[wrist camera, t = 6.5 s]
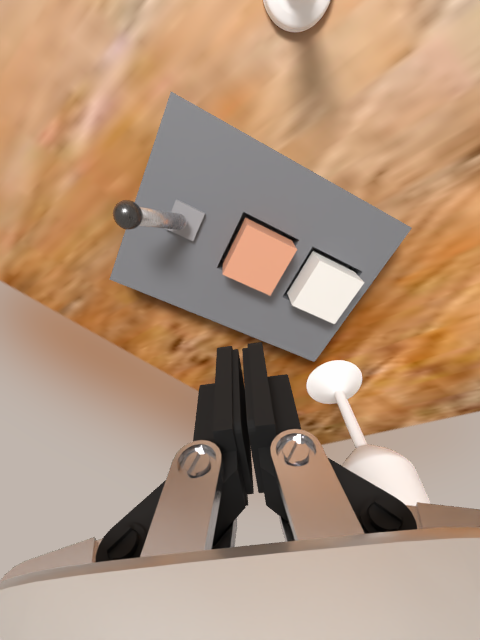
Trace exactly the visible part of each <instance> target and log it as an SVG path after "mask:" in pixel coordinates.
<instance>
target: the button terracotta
mask: <svg viewBox="0 0 480 640" xmlns="http://www.w3.org/2000/svg"><path fill="white" fill-rule="evenodd" d="M296 251H297V248H296V246H295V245H294V243H293V241H292V240H290V239H288V238H286V237H284V236H282V235H280V234H278V233H276V232H274V231H272V230H270V229H268V228H266V227H264V226H262V225H260V224H258V223H256V222H254V221H252V220H250V219H248V218H246V217H245V219H244V221H243V223H242V226H241V228H240V230H239V232H238V234H237V236H236V238H235V240H234V242H233V244H232V246H231V248H230V250H229V252H228V254H227V256H226V258H225V260H224V262H223V274H222V275H225V276H227V277H229V278H231V279H234V280H236V281H238V282H240V283H243V284H245V285H247V286H249V287H252V288H254V289H256V290H258V291H261V292H263V293H265V294H267V295H271V294H272V292H273V290H274V289H275V287H276V285H277V283H278V282H279V280H280V278H281V277H282V275H283V273H284V271H285V270H286V268H287V266H288V265H289V263H290V261H291V259H292V258H293V256H294V254H295V253H296Z"/></svg>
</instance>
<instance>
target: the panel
mask: <svg viewBox="0 0 480 640" xmlns="http://www.w3.org/2000/svg"><path fill="white" fill-rule="evenodd" d="M135 203H136V204H137V205H138V206H139V207H142V208H148V209H154V210H161V211H167V212H173V213H179V214H182V215H184V216H185V218H186V220H187V225H186V227H185V228H184V229H182V230H174V229H165V228H155V227H145V226H138V227H137V228H135V229H131V230H128V229H126V231H125V234H124V237H123V240H122V243H121V246H120V249H119V252H118V255H117V258H116V261H115V264H114V268H113V271H112V274H111V277H110V280H113V281H115V282H118V283H120V284H123V285H125V286H127V287H130V288H132V289H135V290H137V291H140V292H142V293H145V294H147V295H150V296H152V297H155V298H157V299H160V300H162V301H165V302H167V303H170V304H172V305H175V306H177V307H180V308H182V309H185V310H187V311H189V312H192V313H194V314H197V315H199V316H202V317H204V318H207V319H209V320H212V321H214V322H217V323H219V324H222V325H224V326H227V327H229V328H232V329H234V330H237V331H239V332H242V333H244V334H247V335H249V336H251V337H254V338H256V339H259V340H261V341H264V342H266V343H269V344H271V345H274V346H276V347H279V348H281V349H284V350H286V351H289V352H291V353H294V354H296V355H299V356H301V357H304V358H306V359H309V360H311V361H313V362H315V360H316V359H317V358H318V356H319V355H320V354H321V352H322V351H323V349H324V348H325V347H326V345H327V344H328V343H329V341H330V340H331V338H332V337H333V336H334V334H335V333H336V332H337V330H338V329H339V327H340V326H341V325H342V323H343V322H344V321H345V319H346V318H347V316H348V315H349V314H350V312H351V311H352V310H353V308H354V307H355V305H356V304H357V303H358V301H359V300H360V299H361V297H362V296H363V294H364V293H365V292H366V290H367V289H368V288H369V286H370V285H371V283H372V282H373V281H374V279H375V278H376V277H377V275H378V274H379V272H380V271H381V270H382V268H383V267H384V266H385V264H386V263H387V261H388V260H389V259H390V257H391V256H392V255H393V253H394V252H395V250H396V249H397V248H398V246H399V245H400V244H401V242H402V241H403V239H404V238H405V237H406V235H407V234H408V233H409V231H410V230H411V227H409V226H407V225H406V224H404V223H402V222H400V221H399V220H397V219H395V218H393V217H391V216H390V215H388V214H386V213H384V212H383V211H381V210H379V209H377V208H376V207H374V206H372V205H370V204H369V203H367V202H365V201H363V200H361V199H360V198H358V197H356V196H354V195H353V194H351V193H349V192H347V191H346V190H344V189H342V188H340V187H339V186H337V185H335V184H333V183H331V182H330V181H328V180H326V179H324V178H323V177H321V176H319V175H317V174H316V173H314V172H312V171H310V170H309V169H307V168H305V167H303V166H301V165H300V164H298V163H296V162H294V161H293V160H291V159H289V158H287V157H286V156H284V155H282V154H280V153H279V152H277V151H275V150H273V149H271V148H270V147H268V146H266V145H264V144H263V143H261V142H259V141H257V140H256V139H254V138H252V137H250V136H249V135H247V134H245V133H243V132H241V131H240V130H238V129H236V128H234V127H233V126H231V125H229V124H227V123H226V122H224V121H222V120H220V119H219V118H217V117H215V116H213V115H211V114H210V113H208V112H206V111H204V110H203V109H201V108H199V107H197V106H196V105H194V104H192V103H190V102H189V101H187V100H185V99H183V98H181V97H180V96H178V95H176V94H174V93H173V92H171V93H170V96H169V99H168V102H167V106H166V109H165V112H164V115H163V118H162V121H161V124H160V127H159V130H158V133H157V136H156V139H155V142H154V145H153V148H152V151H151V154H150V158H149V161H148V164H147V167H146V170H145V173H144V176H143V179H142V182H141V185H140V188H139V191H138V194H137V197H136V200H135ZM245 217H246V218H248V219H250V220H252V221H254V222H256V223H258V224H260V225H262V226H264V227H266V228H268V229H270V230H272V231H274V232H276V233H278V234H280V235H282V236H284V237H286V238H288V239H290V240H292V241H293V243H294V245H295V246H296V248H297V251H296V253H295V254H294V256H293V258H292V259H291V261H290V263H289V265H288V266H287V268H286V270H285V271H284V273H283V275H282V277H281V278H280V280H279V282H278V283H277V285H276V287H275V289H274V290H273V292H272V294H271V295H267V294H265V293H263V292H261V291H258V290H256V289H254V288H252V287H249V286H247V285H245V284H243V283H240V282H238V281H236V280H234V279H231V278H229V277H227V276H225V275H222V274H223V262H224V260H225V258H226V256H227V254H228V252H229V250H230V248H231V246H232V244H233V242H234V240H235V238H236V236H237V234H238V232H239V230H240V228H241V226H242V223H243V221H244V219H245ZM312 251H314V252H316V253H318V254H320V255H322V256H324V257H326V258H328V259H330V260H332V261H334V262H336V263H338V264H340V265H342V266H344V267H346V268H348V269H350V270H352V271H354V272H355V273H356V274H357V275H358V276H359V277H360V278H361V279H362V280H363V282H364V284H363V285H362V287H361V288H360V290H359V291H358V292H357V294H356V295H355V296H354V298H353V299H352V301H351V302H350V303H349V305H348V306H347V308H346V309H345V310H344V312H343V313H342V315H341V316H340V317H339V319H338V320H337V322H336V323H335V324H333V323H331V322H328V321H326V320H324V319H322V318H319V317H317V316H315V315H313V314H310V313H308V312H306V311H304V310H301V309H299V308H297V307H294V306H292V304H291V302H290V299H289V296H288V294H287V293H288V291H289V289H290V288H291V286H292V284H293V283H294V281H295V279H296V278H297V276H298V275H299V273H300V271H301V270H302V268H303V266H304V265H305V263H306V261H307V260H308V258H309V256H310V255H311V253H312Z"/></svg>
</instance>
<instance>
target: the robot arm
mask: <svg viewBox="0 0 480 640" xmlns="http://www.w3.org/2000/svg"><path fill="white" fill-rule="evenodd" d="M242 351H243V367H244V382H243V376H242V370H241V364H240V358H239V352H238V349H235V350H233V349H232V346H228V347H220V348H217V359H216V377H215V383H214V384H206V385H200V388H199V396H198V404H197V413H196V422H195V430H194V439H193V442H191V443H188V444H186V445H185V446H183V447H182V448H181V449H180V450H179V451H178V452H177V453H176V455H175V457H174V459H173V461H172V464H171V467H170V470H169V473H168V476H167V478H166V480H165V481H164V482H163V483H162V484H161V485H160V486H159V487H158V488H157V489H155V490H154V491H153V492H152V493H151V494H150V495H149V496H147V497H146V498H145V499H144V500H143V501H142V502H141V503H140V504H138V505H137V506H136V507H135V508H134V509H133V510H132V511H131V512H129V513H128V514H127V515H126V516H125V517H124V518H123V519H122V520H120V521H119V522H118V523H117V524H116V525H115V526H114V527H112V529H110V531H109V532H108V533H107V534H106V535H105V536H104V538H102V539H99V540H96V539H95V537H93V538H90V539H87V540H85V541H81V542H78V543H76V544H73V545H70V546H67V547H64V548H61V549H58V550H55V551H52V552H50V553H47V554H44V555H41V556H38V557H35V558H32V559H29V560H27V561H24V562H22V563H20V564H18V565H16V566H15V567H13V568H12V569H11V570H10V571H9V572H8V573H6V574H5V576H4V577H3V578H2V579H1V580H0V640H480V510H479V509H471V508H462V507H454V506H444V505H436V504H428V503H419V502H417V504H416V506H411V505H405V504H404V503H403V502H401V501H400V500H399V499H397V498H396V497H394V496H393V495H391V494H389V493H387V492H386V491H384V490H382V489H381V488H379V487H377V486H375V485H374V484H372V483H370V482H369V481H367V480H365V479H363V478H362V477H360V476H358V475H357V474H355V473H353V472H351V471H350V470H348V469H346V468H344V467H343V466H341V465H339V464H338V463H336V462H334V461H332V460H331V459H329V458H327V456H326V454H325V452H324V450H323V448H322V446H321V444H320V442H319V441H318V439H317V438H316V437H315V436H314V435H312V434H311V433H310V432H307V431H304V430H301V427H300V423H299V419H298V414H297V410H296V406H295V402H294V398H293V394H292V390H291V386H290V382H289V378H288V375H278V376H270V377H267V371H266V365H265V358H264V352H263V346H262V342H259V343H251V344H248V348H243V349H242ZM244 383H245V388H244ZM250 446H251V448H250ZM251 451H252V457H253V462H254V469H255V474H256V479H257V486H258V492H259V493H264V494H265V500H266V505H267V506H268V507H269V508H270V509H272V510H273V511H274V512H275V513H277V514H278V515H279V518H280V523H281V527H282V530H283V534H284V537H285V540H286V542H279V543H269V544H260V545H250V546H241V547H234V546H235V538H236V530H237V517H238V515H239V514H240V513H241V512H242V511H243V510H244V509H245V506H246V505H248V497H247V494H253V478H252V463H251Z"/></svg>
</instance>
